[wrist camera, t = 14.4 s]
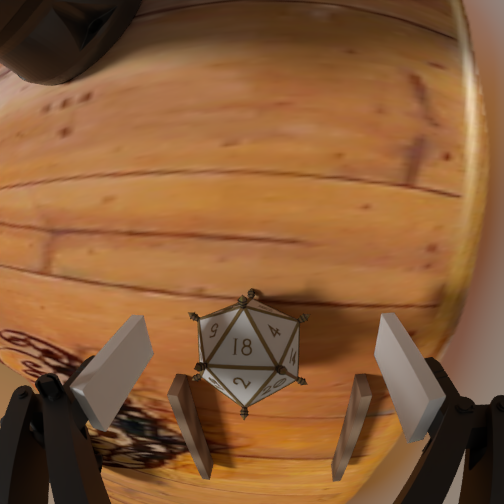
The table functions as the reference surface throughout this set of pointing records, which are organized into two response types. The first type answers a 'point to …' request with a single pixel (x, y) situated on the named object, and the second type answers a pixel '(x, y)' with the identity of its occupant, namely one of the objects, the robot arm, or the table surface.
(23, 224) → the table surface
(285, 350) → the game die
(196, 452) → the walnut channel
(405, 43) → the table surface
